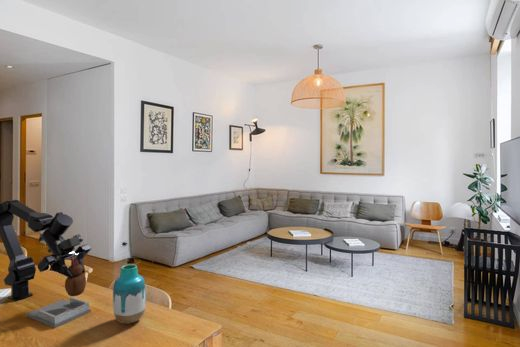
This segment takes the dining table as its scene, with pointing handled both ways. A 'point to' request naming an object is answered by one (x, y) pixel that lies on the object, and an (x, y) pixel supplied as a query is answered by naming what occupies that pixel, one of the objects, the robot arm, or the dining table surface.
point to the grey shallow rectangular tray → (60, 312)
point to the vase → (129, 295)
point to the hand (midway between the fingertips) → (78, 274)
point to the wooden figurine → (75, 279)
